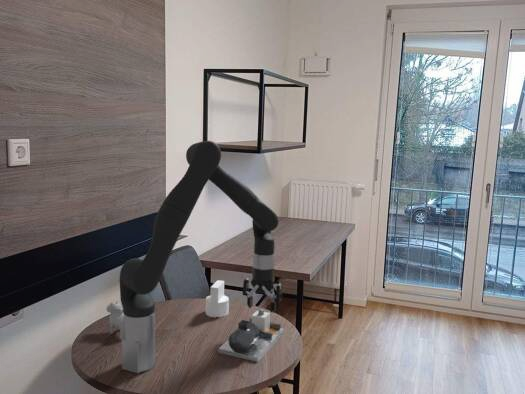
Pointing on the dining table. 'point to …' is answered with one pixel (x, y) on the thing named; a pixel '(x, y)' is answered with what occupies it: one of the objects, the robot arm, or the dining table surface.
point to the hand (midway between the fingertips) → (261, 309)
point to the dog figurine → (116, 318)
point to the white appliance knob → (217, 301)
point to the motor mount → (251, 340)
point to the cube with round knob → (261, 320)
